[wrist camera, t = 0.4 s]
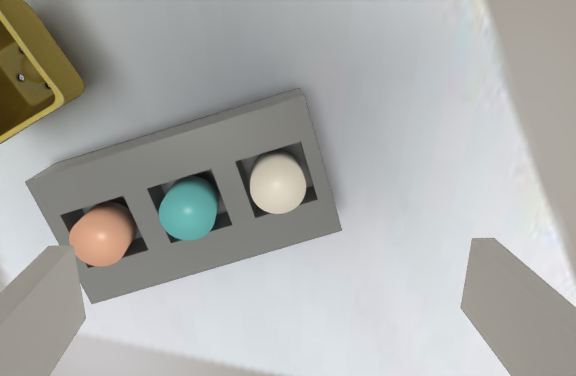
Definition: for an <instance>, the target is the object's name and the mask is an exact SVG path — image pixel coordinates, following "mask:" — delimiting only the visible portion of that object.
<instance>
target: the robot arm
mask: <svg viewBox="0 0 576 376" xmlns="http://www.w3.org/2000/svg"><path fill="white" fill-rule="evenodd" d="M461 309H462V310H463V312H464V313H465V314H466V316H467V317H468V319H469V320H470V321H471V323H472V324H473V325H474V327H475V328H476V329H477V331H478V332H479V333H480V335H481V336H482V337H483V339H484V340H485V341H486V343H487V344H488V345H489V347H490V348H491V349H492V351H493V352H494V353H495V355H496V356H497V358H498V359H499V360H500V362H501V363H502V364H503V366H504V367H505V368H506V370H507V371H508V372H509V374H510V375H511V376H576V307H575V306H574V305H572V304H571V303H570V302H569V301H568V300H566V299H565V298H564V297H563V296H562V295H561V294H559V293H558V292H557V291H556V290H555V289H554V288H552V287H551V286H550V285H549V284H548V283H546V282H545V281H544V280H543V279H542V278H541V277H539V276H538V275H537V274H536V273H535V272H534V271H532V270H531V269H530V268H529V267H528V266H526V265H525V264H524V263H523V262H522V261H521V260H519V259H518V258H517V257H516V256H515V255H514V254H512V253H511V252H510V251H509V250H508V249H506V248H505V247H504V246H503V245H502V244H501V243H499V242H498V241H497V240H496V239H495V238H472V242H471V248H470V254H469V260H468V266H467V272H466V278H465V284H464V290H463V296H462V302H461ZM85 319H86V315H85V310H84V304H83V298H82V292H81V286H80V281H79V275H78V269H77V263H76V257H75V252H74V246H73V245H71V246H48V247H47V248H46V249H45V250H44V251H43V252H42V253H41V254H40V255H39V256H38V257H37V258H36V259H35V260H34V261H33V262H32V263H31V264H30V265H29V266H28V267H26V268H25V269H24V270H23V271H22V272H21V273H20V274H19V275H18V276H17V277H16V278H15V279H14V280H13V281H12V282H11V283H10V284H9V285H8V286H7V287H6V288H5V289H4V290H3V291H2V292H1V293H0V376H50V374H51V373H52V371H53V370H54V368H55V366H56V365H57V363H58V362H59V360H60V359H61V357H62V355H63V354H64V352H65V351H66V349H67V347H68V346H69V344H70V343H71V341H72V340H73V338H74V336H75V335H76V333H77V332H78V330H79V328H80V327H81V325H82V324H83V322H84V321H85Z"/></svg>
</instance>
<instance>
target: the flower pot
mask: <svg viewBox="0 0 576 376" xmlns="http://www.w3.org/2000/svg"><path fill="white" fill-rule="evenodd" d="M20 48H21V49H22V51H23V52H24V53H25V54H23V53H22V52H21V51H20ZM19 74H22V75H23V76H24V81H20V80H19V79H18V75H19ZM46 83H47V84H48V85H49V86H50V88H47V86H46ZM84 89H85V85H84V82H83V80H82V78H81V77H80V75H79V74H78V73H77V71H76V70H75V68H74V67H73V66H72V64H71V63H70V61H69V60H68V59H67V57H66V56H65V54H64V53H63V52H62V50H61V49H60V47H59V46H58V44H57V43H56V42H55V40H54V39H53V37H52V36H51V34H50V33H49V32H48V30H47V29H46V27H45V26H44V24H43V23H42V21H41V20H40V18H39V17H38V16H37V14H36V13H35V12H34V11H33V9H32V8H31V7H30V6H29V5H28V4H27V3H26V2H25V1H23V0H0V144H1V143H3V142H5V141H6V140H8V139H10V138H11V137H13V136H14V135H16V134H17V133H19V132H20V131H22V130H24V129H25V128H27V127H28V126H30V125H32V124H33V123H35V122H37V121H38V120H40V119H42V118H43V117H45V116H47V115H48V114H50V113H52V112H53V111H55V110H57V109H58V108H60V107H62V106H63V105H65V104H67V103H68V102H70V101H72V100H74V99H75V98H77V97H79V96H80V95H81V94H82V93H83V92H84Z"/></svg>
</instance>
